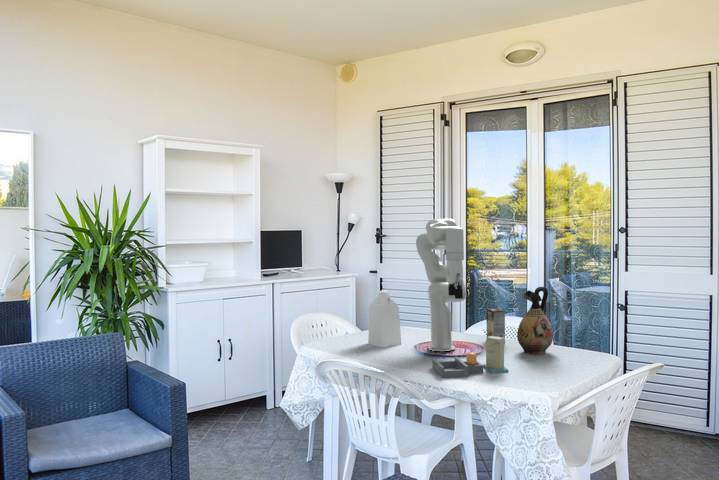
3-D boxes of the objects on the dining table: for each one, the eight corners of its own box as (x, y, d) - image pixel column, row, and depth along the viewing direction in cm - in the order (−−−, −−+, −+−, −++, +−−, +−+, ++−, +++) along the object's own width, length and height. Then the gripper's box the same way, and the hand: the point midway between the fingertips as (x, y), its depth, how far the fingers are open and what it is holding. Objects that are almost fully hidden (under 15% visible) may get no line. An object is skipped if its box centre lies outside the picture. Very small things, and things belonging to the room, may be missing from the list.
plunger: (465, 367, 235) (465, 352, 235) (474, 366, 236) (474, 352, 236) (468, 369, 231) (468, 355, 231) (478, 369, 232) (477, 354, 232)
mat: (483, 366, 239) (483, 364, 239) (499, 365, 240) (499, 363, 240) (491, 373, 229) (491, 370, 229) (508, 372, 230) (508, 369, 230)
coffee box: (486, 340, 288) (485, 308, 288) (498, 339, 290) (497, 307, 289) (493, 344, 279) (492, 311, 279) (505, 343, 280) (505, 310, 280)
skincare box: (485, 367, 235) (485, 337, 234) (491, 364, 238) (490, 335, 238) (499, 369, 231) (499, 339, 230) (505, 367, 234) (504, 337, 234)
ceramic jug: (533, 358, 250) (532, 289, 249) (510, 351, 264) (509, 286, 263) (563, 354, 257) (563, 287, 256) (539, 347, 271) (539, 283, 270)
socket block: (432, 367, 239) (432, 358, 239) (474, 365, 242) (474, 356, 241) (441, 377, 225) (441, 367, 224) (486, 375, 227) (486, 365, 226)
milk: (401, 344, 284) (400, 291, 283) (382, 347, 278) (381, 293, 277) (386, 340, 294) (385, 289, 293) (368, 343, 288) (367, 291, 287)
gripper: (440, 255, 252) (441, 294, 253) (451, 258, 235) (452, 300, 236) (457, 254, 253) (458, 293, 254) (469, 257, 236) (470, 299, 237)
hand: (455, 296), depth 245 cm, fingers open, 9 cm apart
